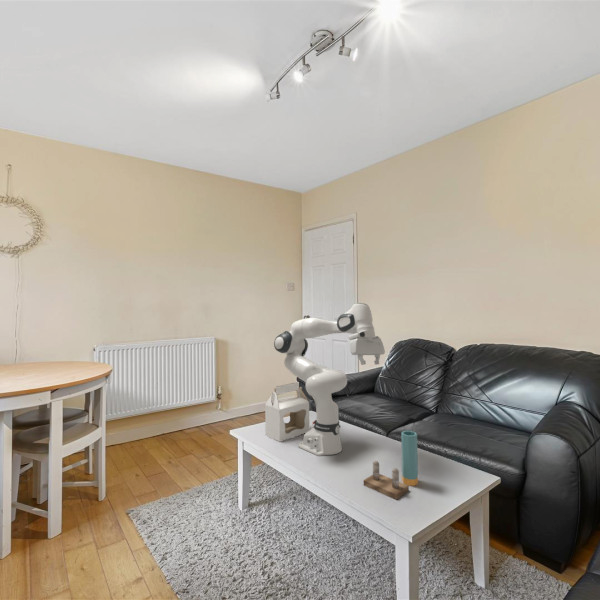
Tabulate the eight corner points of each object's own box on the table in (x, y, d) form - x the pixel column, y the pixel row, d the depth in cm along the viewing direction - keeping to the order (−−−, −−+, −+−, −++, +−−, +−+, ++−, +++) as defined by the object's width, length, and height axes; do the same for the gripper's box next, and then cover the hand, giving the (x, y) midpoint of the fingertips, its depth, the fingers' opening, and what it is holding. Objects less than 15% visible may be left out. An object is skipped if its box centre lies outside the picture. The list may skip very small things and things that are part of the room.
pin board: (363, 485, 143) (363, 462, 143) (376, 477, 150) (376, 455, 150) (396, 499, 132) (395, 475, 132) (408, 490, 139) (408, 467, 139)
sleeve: (399, 481, 145) (399, 433, 145) (407, 477, 149) (406, 429, 149) (412, 487, 141) (412, 437, 141) (420, 481, 145) (419, 433, 145)
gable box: (295, 425, 213) (294, 379, 213) (310, 431, 203) (309, 383, 203) (265, 435, 198) (264, 385, 198) (279, 442, 188) (278, 389, 188)
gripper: (375, 337, 178) (380, 365, 174) (346, 336, 166) (350, 365, 162) (385, 334, 173) (390, 363, 169) (355, 333, 161) (360, 363, 157)
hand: (370, 364), depth 165 cm, fingers open, 8 cm apart
